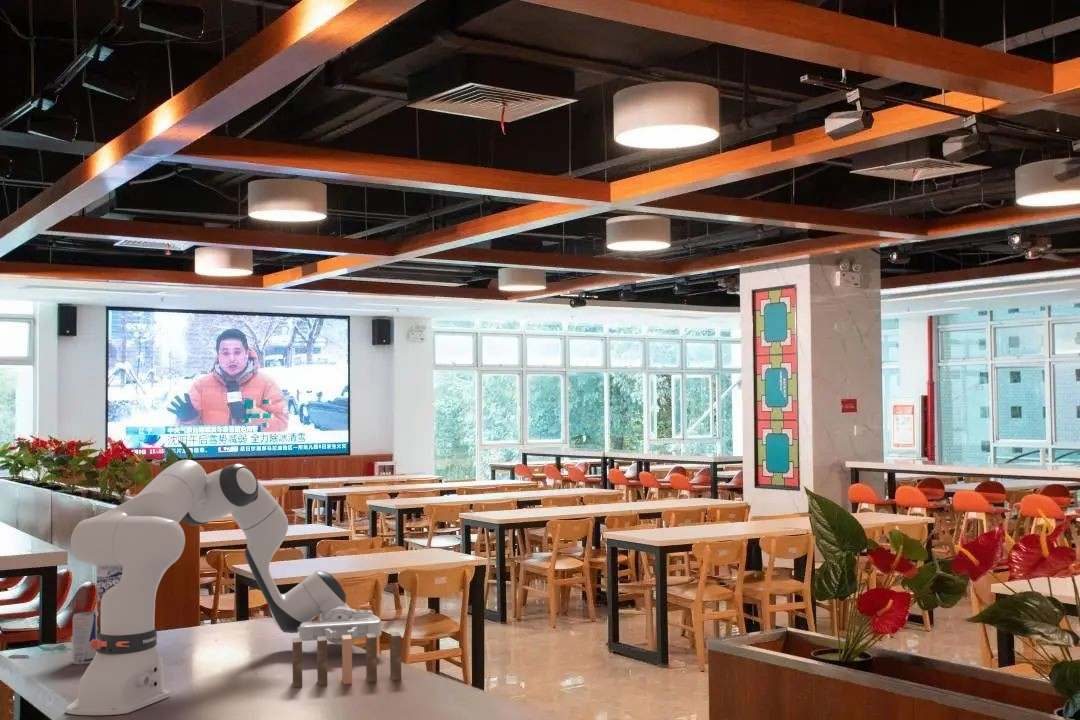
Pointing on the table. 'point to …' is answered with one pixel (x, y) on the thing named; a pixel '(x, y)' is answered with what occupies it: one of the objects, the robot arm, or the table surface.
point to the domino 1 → (297, 662)
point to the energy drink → (83, 637)
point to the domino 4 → (371, 657)
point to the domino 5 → (395, 656)
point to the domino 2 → (322, 660)
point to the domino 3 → (346, 659)
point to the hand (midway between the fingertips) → (342, 635)
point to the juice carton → (105, 586)
